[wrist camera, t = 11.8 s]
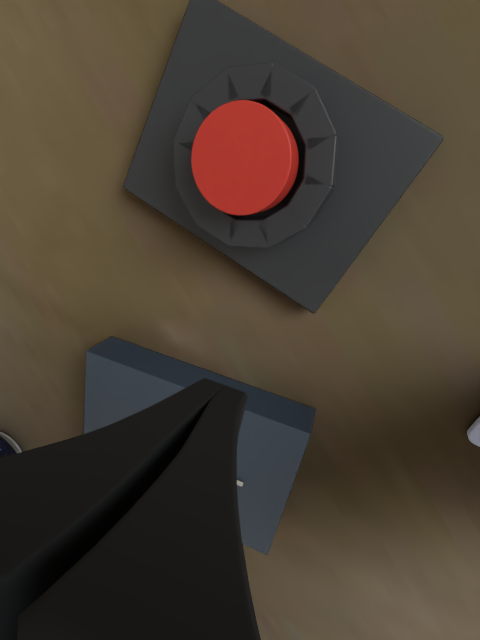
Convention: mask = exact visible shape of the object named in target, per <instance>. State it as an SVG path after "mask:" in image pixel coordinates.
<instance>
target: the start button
mask: <svg viewBox="0 0 480 640" xmlns="http://www.w3.org/2000/svg"><path fill="white" fill-rule="evenodd" d="M191 164H192V172H193V176H194V179H195V182H196V184H197V187H198V189H199V190H200V192H201V194H202V195H203V196H204V198H205V199H206V200H207V201H208V202H209V203H210V204H211V205H212V206H214V207H215V208H216V209H218V210H220V211H222V212H225V213H227V214H231V215H239V216H241V215H250V214H255V213H259V212H263V211H266V210H269V209H271V208H273V207H274V206H276V205H277V204H278V203H280V202H281V201H282V200H283V199H284V198H285V197H286V195H287V194H288V193H289V191H290V190H291V188H292V186H293V184H294V182H295V179H296V176H297V172H298V165H299V154H298V148H297V144H296V141H295V138H294V136H293V134H292V132H291V130H290V129H289V127H288V126H287V125H286V124H285V123H284V122H283V121H282V120H281V119H280V118H279V117H278V116H277V115H276V114H275V113H274V112H273V111H272V110H270V109H269V108H268V107H266V106H264V105H262V104H260V103H257V102H254V101H249V100H237V101H231V102H228V103H225V104H223V105H221V106H219V107H218V108H216V109H215V110H214V111H213V112H211V113H210V114H209V115H208V116H207V117H206V119H205V120H204V121H203V123H202V124H201V126H200V127H199V129H198V131H197V133H196V136H195V139H194V142H193V146H192V153H191Z"/></svg>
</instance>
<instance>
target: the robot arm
mask: <svg viewBox="0 0 480 640" xmlns="http://www.w3.org/2000/svg"><path fill="white" fill-rule="evenodd" d="M247 400H248V396H247V394H246V393H245V392H243V391H240V390H237V389H234V388H232V387H229V386H226V385H223V384H220V383H218V382H215V381H212V380H209V379H206V378H203V379H201V380H199V381H197V382H195V383H194V384H192V385H190V386H188V387H186V388H184V389H183V390H181V391H179V392H177V393H175V394H173V395H172V396H170V397H168V398H166V399H164V400H162V401H160V402H158V403H156V404H154V405H152V406H150V407H148V408H146V409H144V410H142V411H140V412H137V413H135V414H133V415H131V416H128V417H126V418H124V419H122V420H119V421H117V422H115V423H112V424H110V425H107V426H105V427H102V428H100V429H97V430H94V431H91V432H88V433H85V434H83V435H80V436H77V437H74V438H71V439H67V440H64V441H61V442H57V443H53V444H50V445H46V446H43V447H39V448H35V449H32V450H28V451H25V452H21V453H17V454H13V455H8V456H4V457H0V640H261V639H260V635H259V630H258V626H257V621H256V616H255V612H254V607H253V602H252V597H251V592H250V587H249V581H248V575H247V569H246V562H245V556H244V550H243V544H242V537H241V528H240V519H239V509H238V495H237V443H238V435H239V431H240V427H241V423H242V419H243V415H244V411H245V407H246V404H247ZM467 436H468V438H469V440H470V442H472V443H473V444H475V445H477V446H479V447H480V416H479V418H478V419H477V420H476V421H475V422H474V423H473V424H472V425H471V426H470V428H469V429H468V431H467Z"/></svg>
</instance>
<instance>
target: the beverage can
mask: <svg viewBox="0 0 480 640" xmlns="http://www.w3.org/2000/svg"><path fill="white" fill-rule="evenodd" d="M21 452H22V451H21V449H20V447H19V446H18V444H17V443H16V442H15V441H14V440H13V439H12V438H11V437H9V436H8V435H6V434H4V433H2V432H0V457H4V456H8V455H13V454H17V453H21Z"/></svg>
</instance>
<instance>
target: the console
mask: <svg viewBox="0 0 480 640" xmlns="http://www.w3.org/2000/svg"><path fill="white" fill-rule="evenodd" d="M203 378H206V379H209V380H212V381H215V382H218V383H220V384H223V385H226V386H229V387H232V388H234V389H237V390H240V391H243V392H245V393H246V394H247V396H248V400H247V404H246V407H245V411H244V415H243V419H242V423H241V427H240V431H239V435H238V443H237V495H238V509H239V519H240V528H241V537H242V544H244V545H246V546H248V547H250V548H252V549H255V550H257V551H259V552H261V553H263V554H266V555H267V554H268V552H269V550H270V547H271V544H272V541H273V538H274V536H275V533H276V530H277V527H278V525H279V522H280V519H281V516H282V513H283V511H284V508H285V505H286V502H287V500H288V497H289V494H290V491H291V488H292V486H293V483H294V480H295V477H296V475H297V472H298V469H299V466H300V464H301V461H302V458H303V455H304V452H305V450H306V447H307V444H308V441H309V439H310V436H311V431H312V426H313V421H314V416H315V411H316V410H315V408H312V407H309V406H306V405H303V404H301V403H298V402H295V401H292V400H289V399H287V398H284V397H281V396H278V395H275V394H272V393H270V392H267V391H264V390H261V389H258V388H256V387H253V386H250V385H247V384H244V383H241V382H239V381H236V380H233V379H230V378H227V377H225V376H222V375H219V374H216V373H213V372H211V371H208V370H205V369H202V368H199V367H196V366H194V365H191V364H188V363H185V362H182V361H180V360H177V359H174V358H171V357H168V356H165V355H163V354H160V353H157V352H154V351H151V350H149V349H146V348H143V347H140V346H137V345H134V344H132V343H129V342H126V341H123V340H120V339H118V338H115V337H109V338H108V339H106V340H104V341H103V342H101V343H99V344H98V345H96V346H94V347H92V348H91V349H89V350H87V351H86V371H85V402H84V433H83V434H85V433H88V432H91V431H94V430H97V429H100V428H102V427H105V426H107V425H110V424H112V423H115V422H117V421H119V420H122V419H124V418H126V417H128V416H131V415H133V414H135V413H137V412H140V411H142V410H144V409H146V408H148V407H150V406H152V405H154V404H156V403H158V402H160V401H162V400H164V399H166V398H168V397H170V396H172V395H173V394H175V393H177V392H179V391H181V390H183V389H184V388H186V387H188V386H190V385H192V384H194V383H195V382H197V381H199V380H201V379H203Z"/></svg>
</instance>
